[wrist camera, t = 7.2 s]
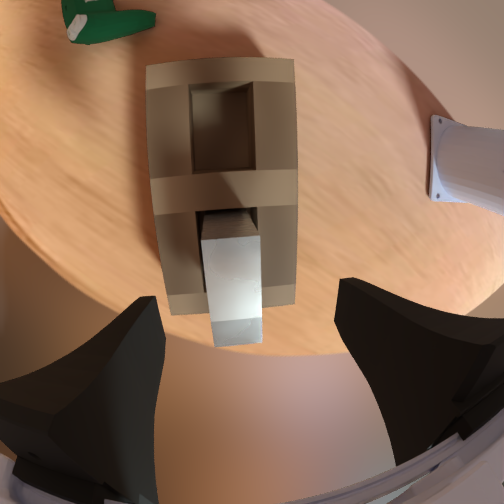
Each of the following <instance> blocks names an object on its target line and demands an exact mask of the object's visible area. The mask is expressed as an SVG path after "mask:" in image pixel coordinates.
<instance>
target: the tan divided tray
mask: <svg viewBox="0 0 504 504" xmlns="http://www.w3.org/2000/svg"><path fill="white" fill-rule="evenodd" d="M146 129H147V148H148V163H149V175H150V186H151V195H152V204H153V213H154V220H155V228H156V235H157V242H158V248H159V254H160V260H161V266H162V272H163V277H164V283H165V288H166V293H167V298H168V303H169V307H170V312H171V315H188V314H202V313H210V312H209V304H208V297H207V289H206V281H205V272H204V263H203V254H202V245H201V237H202V228H203V220H204V213H205V210H217V209H230V208H245V209H246V211H247V213H248V214H249V216H250V218H251V220H252V222H253V224H254V225H255V227H256V229H257V231H258V233H259V235H260V250H261V296H262V308H266V307H275V306H283V305H291V304H295V289H296V265H297V227H298V149H297V113H296V90H295V72H294V59H284V58H266V57H222V58H204V59H192V60H182V61H174V62H166V63H160V64H153V65H148V66H146Z"/></svg>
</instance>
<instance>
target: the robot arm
mask: <svg viewBox="0 0 504 504" xmlns="http://www.w3.org/2000/svg"><path fill="white" fill-rule="evenodd" d="M436 195H437V197H436ZM429 198H430V200H432V201H444V202H464V203H471V204H473V205H476V206H479V207H482V208H484V209H487V210H489V211H492V212H495V213H497V214H500V215H502V216H504V130H499V129H492V128H481V127H468V126H466V125H463V124H461V123H458V122H455V121H453V120H450V119H447V118H444V117H441V116H438V115H432V116H431V172H430V188H429ZM334 322H335V324H336V327H337V329H338V332H339V334H340V336H341V338H342V340H343V342H344V344H345V345H346V347H347V349H348V350H349V352H350V354H351V355H352V357H353V358H354V360H355V362H356V363H357V365H358V366H359V368H360V370H361V371H362V373H363V375H364V376H365V378H366V380H367V381H368V383H369V385H370V387H371V389H372V392H373V394H374V396H375V399H376V401H377V403H378V406H379V409H380V411H381V414H382V417H383V419H384V422H385V425H386V428H387V432H388V435H389V438H390V441H391V446H392V449H393V454H394V458H395V463H396V467H395V468H393V469H390V470H388V471H386V472H384V473H381V474H379V475H377V476H374V477H372V478H369V479H366V480H364V481H361V482H358V483H356V484H353V485H350V486H347V487H344V488H341V489H338V490H334V491H331V492H327V493H324V494H320V495H316V496H312V497H308V498H304V499H299V500H295V501H290V502H285V503H279V504H366V503H368V502H371V501H373V500H376V499H378V498H380V497H383V496H385V495H387V494H389V493H391V492H393V491H396V490H398V489H400V488H402V487H404V486H406V485H407V484H409V483H411V482H413V481H415V480H417V479H419V478H420V477H422V476H424V475H426V474H427V473H429V472H430V473H429V474H428V475H427V476H425V477H424V478H422V479H421V480H419V481H417V482H416V483H414V484H413V485H411V487H410V488H409V489H407V490H406V491H405V492H404V493H402V494H401V495H399V496H398V497H396V498H395V499H393V500H391V501H390V502H388V503H387V504H504V487H503V485H502V482H503V481H504V318H503V319H500V318H498V319H497V318H490V319H489V318H478V317H469V316H463V315H458V314H453V313H448V312H444V311H440V310H436V309H433V308H430V307H426V306H423V305H420V304H418V303H415V302H412V301H410V300H407V299H405V298H402V297H400V296H397V295H395V294H393V293H390V292H388V291H386V290H384V289H381V288H379V287H377V286H375V285H372V284H370V283H368V282H365V281H363V280H360V279H357V278H354V277H352V278H344V279H340V281H339V289H338V297H337V304H336V311H335V317H334ZM165 342H166V337H165V333H164V329H163V325H162V321H161V317H160V313H159V309H158V305H157V300H156V296H143V297H139V298H138V299H137V300H136V301H134V302H133V303H132V304H131V305H130V306H129V307H128V308H126V309H125V310H124V311H123V312H122V313H121V314H120V315H119V316H117V317H116V318H115V319H114V320H113V321H112V322H111V323H110V324H108V325H107V326H106V327H105V328H103V329H102V330H101V331H100V332H99V333H98V334H96V335H95V336H94V337H93V338H91V339H90V340H89V341H87V342H86V343H84V344H83V345H81V346H80V347H79V348H77V349H76V350H74V351H72V352H71V353H69V354H68V355H66V356H64V357H62V358H61V359H59V360H57V361H55V362H53V363H52V364H50V365H47V366H46V367H43V368H41V369H39V370H37V371H35V372H32V373H29V374H27V375H24V376H21V377H18V378H15V379H12V380H9V381H5V382H2V383H0V440H1V441H2V442H3V443H4V444H5V445H6V446H7V447H8V448H9V449H10V450H12V451H13V452H14V453H15V454H16V455H17V459H16V462H14V461H13V460H11V459H10V458H8V457H6V456H5V455H3V454H1V453H0V504H159V502H158V495H157V488H156V480H155V465H154V414H155V407H156V401H157V395H158V390H159V385H160V380H161V375H162V369H163V364H164V358H165Z"/></svg>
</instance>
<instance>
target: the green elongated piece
mask: <svg viewBox="0 0 504 504" xmlns="http://www.w3.org/2000/svg"><path fill="white" fill-rule="evenodd" d="M61 4H62V13H63V17H64V22H65V25H66V28H67V36H68V38H69V39H70V41H71V42H72V43H77V44H86V45H90V44H96V43H101V42H106V41H110V40H113V39H117V38H120V37H124V36H128V35H132V34H134V33H137V32H140V31H143V30H146V29H149V28H151V27H153V26H155V18H156V13H154V12H151V11H145V10H123V11H116V10H115V6H114V3H113V0H62V2H61Z"/></svg>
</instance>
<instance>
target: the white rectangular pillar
mask: <svg viewBox="0 0 504 504" xmlns="http://www.w3.org/2000/svg"><path fill="white" fill-rule="evenodd" d="M201 245H202V254H203V263H204V272H205V281H206V289H207V297H208V304H209V312H210V319H211V326H212V333H213V339H214V346H215V347H223V346H234V345H244V344H253V343H261V342H262V296H261V250H260V235H259V233H258V231H257V229H256V227H255V225H254V224H253V222H252V220H251V218H250V216H249V214H248V213H247V211H246V209H245V208H230V209H217V210H205V213H204V220H203V228H202V237H201Z"/></svg>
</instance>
